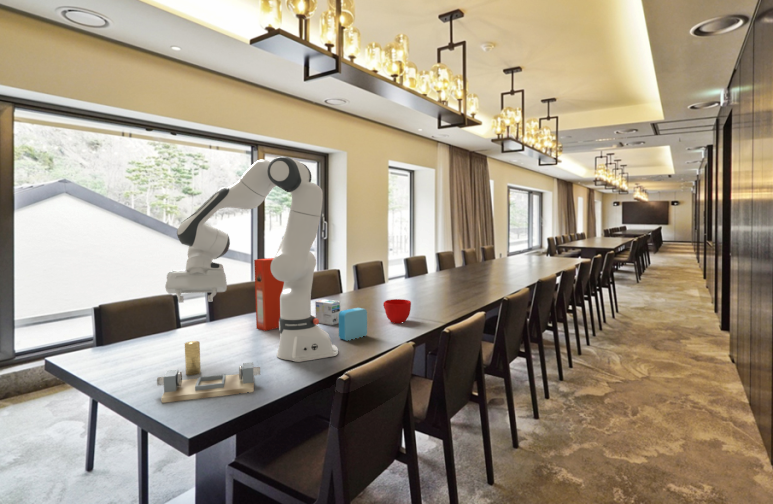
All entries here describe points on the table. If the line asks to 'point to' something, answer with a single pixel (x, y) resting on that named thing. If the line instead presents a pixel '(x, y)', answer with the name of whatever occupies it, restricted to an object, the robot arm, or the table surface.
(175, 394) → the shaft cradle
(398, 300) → the ceramic cup
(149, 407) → the table surface
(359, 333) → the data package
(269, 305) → the file binder
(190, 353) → the cylinder
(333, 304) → the light bulb box
